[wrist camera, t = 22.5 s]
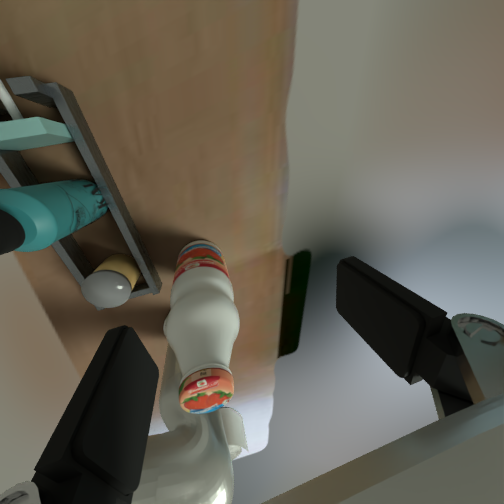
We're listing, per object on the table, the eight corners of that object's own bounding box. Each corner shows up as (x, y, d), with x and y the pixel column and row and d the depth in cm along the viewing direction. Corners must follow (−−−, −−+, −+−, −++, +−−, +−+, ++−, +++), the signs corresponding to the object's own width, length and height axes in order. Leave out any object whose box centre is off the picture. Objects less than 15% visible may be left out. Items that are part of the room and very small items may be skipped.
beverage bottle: (70, 214, 33) (-74, 275, 15) (64, 172, 31) (-117, 187, 13) (115, 219, 35) (33, 277, 17) (112, 180, 33) (13, 201, 15)
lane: (162, 283, 42) (157, 300, 37) (105, 299, 40) (91, 320, 35) (72, 91, 27) (42, 74, 22) (-24, 104, 26) (-81, 88, 20)
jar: (146, 279, 41) (136, 302, 34) (110, 287, 40) (92, 311, 33) (134, 250, 38) (121, 268, 31) (95, 257, 37) (72, 277, 30)
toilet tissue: (199, 415, 64) (200, 456, 55) (235, 401, 66) (241, 438, 57) (209, 430, 69) (211, 470, 60) (242, 416, 70) (249, 453, 62)
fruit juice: (185, 283, 43) (170, 442, 19) (171, 244, 39) (128, 384, 15) (227, 272, 45) (263, 407, 20) (218, 234, 41) (251, 345, 16)
